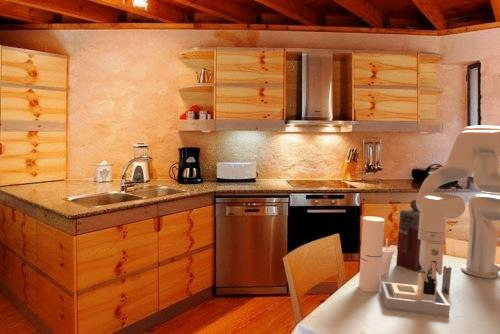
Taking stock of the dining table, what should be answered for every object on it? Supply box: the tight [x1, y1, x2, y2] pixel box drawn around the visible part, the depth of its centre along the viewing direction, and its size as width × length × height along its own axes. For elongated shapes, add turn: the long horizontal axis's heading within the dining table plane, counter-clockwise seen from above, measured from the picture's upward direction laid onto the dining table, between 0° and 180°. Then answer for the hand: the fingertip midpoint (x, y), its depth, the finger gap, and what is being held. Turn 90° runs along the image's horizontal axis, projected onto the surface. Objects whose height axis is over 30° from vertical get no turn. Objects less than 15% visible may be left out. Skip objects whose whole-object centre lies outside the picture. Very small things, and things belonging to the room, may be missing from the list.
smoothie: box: [381, 238, 394, 276], centre depth 143 cm, size 6×6×14 cm
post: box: [441, 265, 452, 295], centre depth 128 cm, size 2×2×9 cm
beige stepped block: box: [390, 272, 438, 301], centre depth 119 cm, size 8×12×7 cm, turn 77°
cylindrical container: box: [358, 215, 386, 293], centre depth 129 cm, size 7×7×25 cm
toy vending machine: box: [396, 198, 422, 273], centre depth 151 cm, size 9×11×28 cm
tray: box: [380, 281, 451, 317], centre depth 119 cm, size 18×13×4 cm
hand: (427, 290), depth 118 cm, fingers closed on beige stepped block, 4 cm apart
